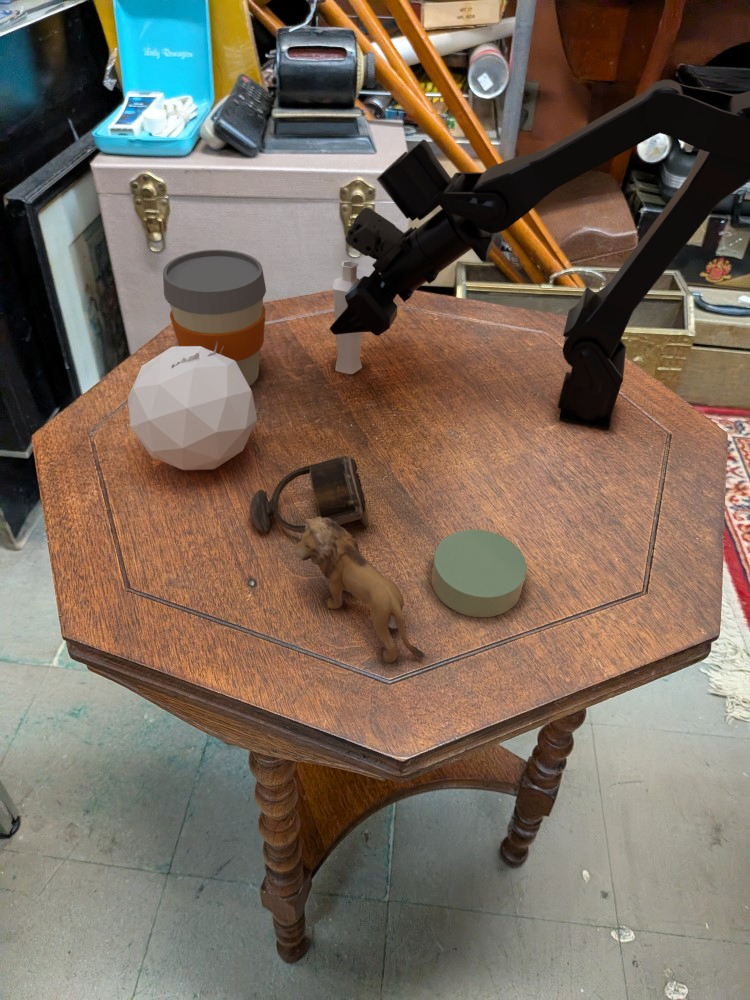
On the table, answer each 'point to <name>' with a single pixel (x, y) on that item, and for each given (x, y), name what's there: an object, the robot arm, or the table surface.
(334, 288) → the perfume bottle
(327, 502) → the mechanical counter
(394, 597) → the lion figurine
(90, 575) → the table surface
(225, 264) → the reusable coffee cup
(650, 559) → the table surface
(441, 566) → the ceramic stand
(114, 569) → the table surface
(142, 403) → the geodesic sphere
